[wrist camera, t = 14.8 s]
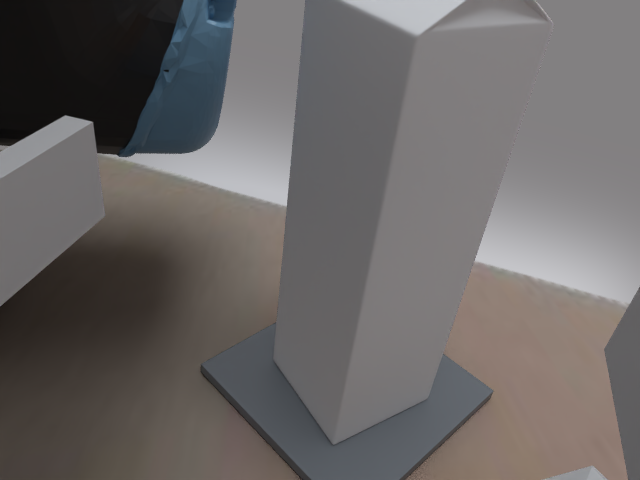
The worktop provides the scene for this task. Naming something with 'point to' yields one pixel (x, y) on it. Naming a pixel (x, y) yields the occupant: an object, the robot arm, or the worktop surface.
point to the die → (580, 475)
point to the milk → (393, 190)
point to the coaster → (358, 450)
